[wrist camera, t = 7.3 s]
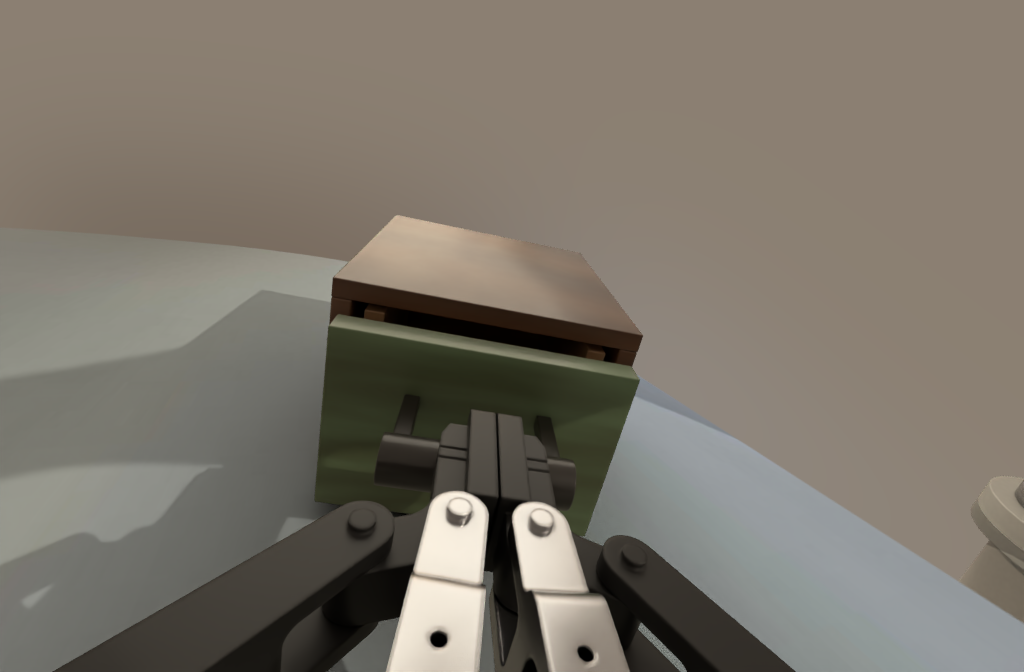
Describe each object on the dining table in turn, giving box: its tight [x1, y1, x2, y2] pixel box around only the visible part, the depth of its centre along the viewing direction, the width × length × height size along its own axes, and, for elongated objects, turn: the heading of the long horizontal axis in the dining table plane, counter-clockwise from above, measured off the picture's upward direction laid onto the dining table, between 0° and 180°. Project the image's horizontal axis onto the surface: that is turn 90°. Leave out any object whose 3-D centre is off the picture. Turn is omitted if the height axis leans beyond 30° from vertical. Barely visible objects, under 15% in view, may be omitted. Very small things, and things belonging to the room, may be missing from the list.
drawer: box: [314, 303, 640, 536], centre depth 23 cm, size 18×11×8 cm, turn 3°
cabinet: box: [329, 215, 643, 367], centre depth 28 cm, size 15×13×10 cm
